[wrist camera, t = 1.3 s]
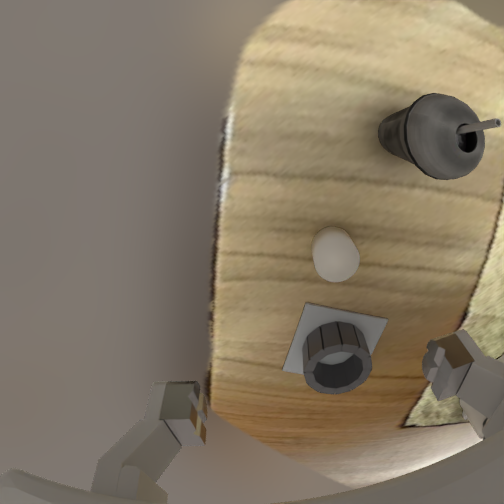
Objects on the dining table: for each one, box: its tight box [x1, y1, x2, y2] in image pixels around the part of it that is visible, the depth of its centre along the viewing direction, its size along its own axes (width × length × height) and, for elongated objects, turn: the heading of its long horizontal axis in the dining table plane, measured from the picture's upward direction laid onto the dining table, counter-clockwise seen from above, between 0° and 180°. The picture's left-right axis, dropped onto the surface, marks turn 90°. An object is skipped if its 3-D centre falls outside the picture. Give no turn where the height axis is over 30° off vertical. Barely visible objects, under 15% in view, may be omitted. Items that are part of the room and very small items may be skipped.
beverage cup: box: [378, 93, 501, 180], centre depth 21 cm, size 7×7×20 cm
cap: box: [311, 227, 360, 282], centre depth 34 cm, size 5×5×4 cm
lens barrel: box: [282, 302, 388, 394], centre depth 39 cm, size 12×12×5 cm
